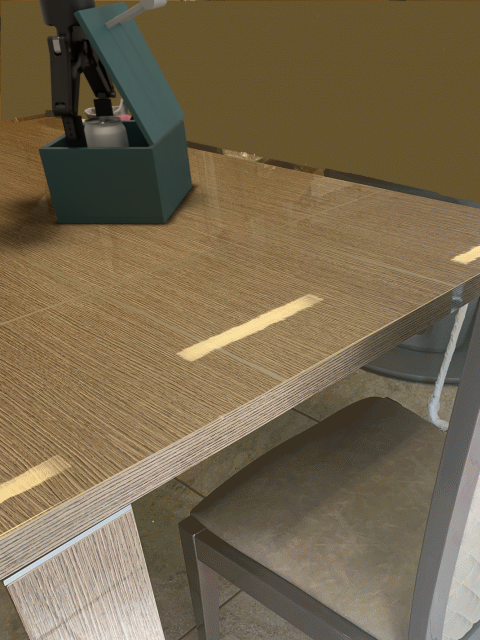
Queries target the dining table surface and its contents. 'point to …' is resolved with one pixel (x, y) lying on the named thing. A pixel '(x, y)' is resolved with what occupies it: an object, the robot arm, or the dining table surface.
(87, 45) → the robot arm
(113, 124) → the can
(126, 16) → the cooler lid
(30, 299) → the dining table surface
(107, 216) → the cooler
